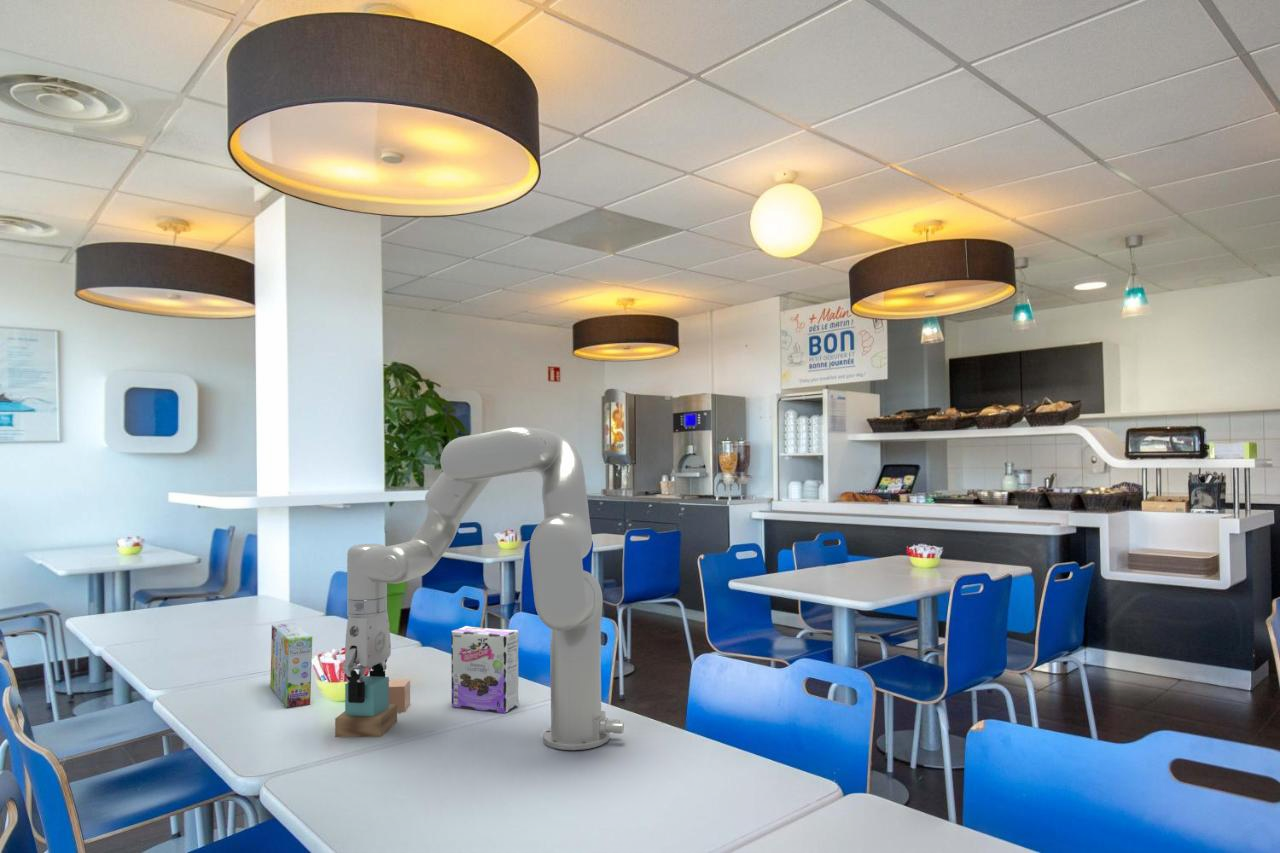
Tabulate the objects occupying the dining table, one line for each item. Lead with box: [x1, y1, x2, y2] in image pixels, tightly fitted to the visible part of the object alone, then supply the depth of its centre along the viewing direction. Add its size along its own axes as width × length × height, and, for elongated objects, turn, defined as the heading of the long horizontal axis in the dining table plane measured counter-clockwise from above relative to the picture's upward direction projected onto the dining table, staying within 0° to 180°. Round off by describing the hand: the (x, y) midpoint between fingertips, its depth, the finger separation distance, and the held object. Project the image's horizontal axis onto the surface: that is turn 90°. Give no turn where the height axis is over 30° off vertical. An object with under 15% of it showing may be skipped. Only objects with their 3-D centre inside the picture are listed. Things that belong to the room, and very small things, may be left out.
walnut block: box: [334, 704, 398, 738], centre depth 157 cm, size 9×9×4 cm
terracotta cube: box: [389, 679, 411, 714], centre depth 170 cm, size 6×6×6 cm
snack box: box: [269, 621, 313, 709], centre depth 182 cm, size 21×6×15 cm, turn 34°
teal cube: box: [344, 675, 390, 716], centre depth 158 cm, size 6×6×6 cm
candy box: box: [450, 625, 519, 714], centre depth 171 cm, size 14×6×16 cm, turn 68°
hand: (367, 695), depth 158 cm, fingers open, 7 cm apart
